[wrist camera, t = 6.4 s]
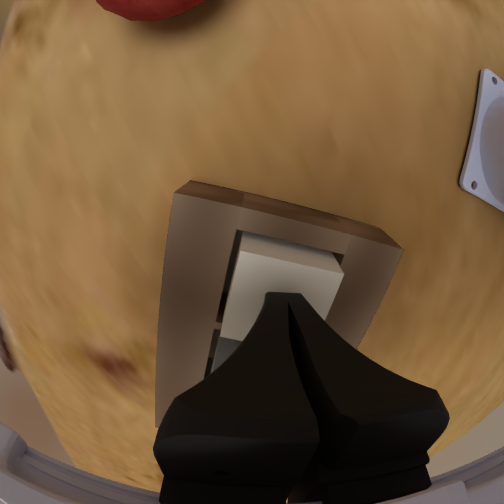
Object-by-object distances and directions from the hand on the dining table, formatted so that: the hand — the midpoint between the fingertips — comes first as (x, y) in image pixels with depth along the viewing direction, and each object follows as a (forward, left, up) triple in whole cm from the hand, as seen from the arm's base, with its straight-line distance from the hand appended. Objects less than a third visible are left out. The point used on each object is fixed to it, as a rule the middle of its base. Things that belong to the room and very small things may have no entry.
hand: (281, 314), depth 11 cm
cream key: (0, 0, -3) cm, 3 cm away
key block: (0, +5, -5) cm, 7 cm away
